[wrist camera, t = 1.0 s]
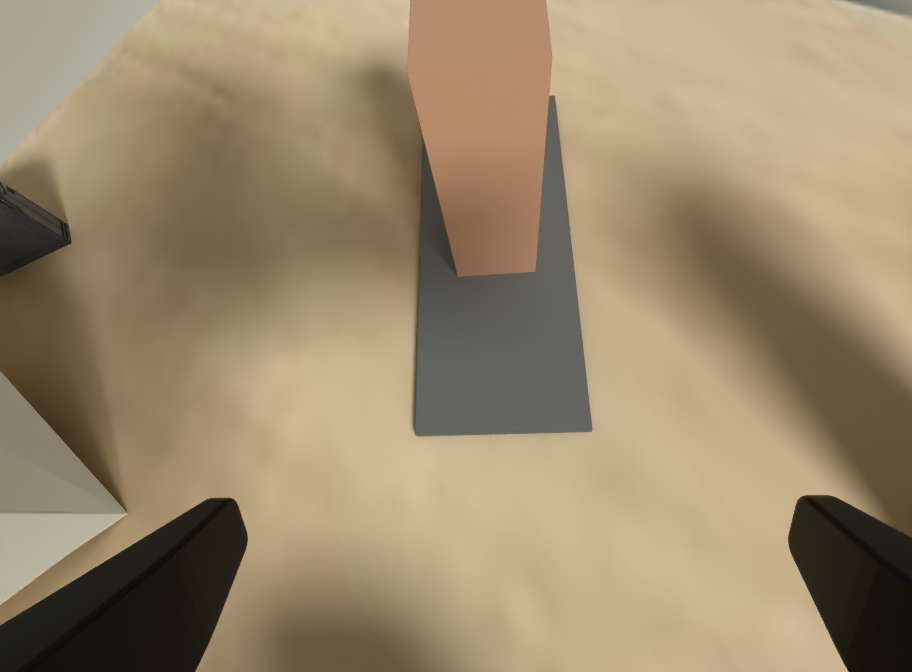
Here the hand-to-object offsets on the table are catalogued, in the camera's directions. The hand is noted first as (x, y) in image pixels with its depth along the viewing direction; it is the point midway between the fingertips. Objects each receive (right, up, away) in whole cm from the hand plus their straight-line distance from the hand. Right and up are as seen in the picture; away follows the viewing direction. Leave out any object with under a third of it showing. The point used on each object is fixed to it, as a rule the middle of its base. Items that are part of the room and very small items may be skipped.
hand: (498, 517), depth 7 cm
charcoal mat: (+1, +8, +17) cm, 19 cm away
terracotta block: (+1, +8, +17) cm, 19 cm away
